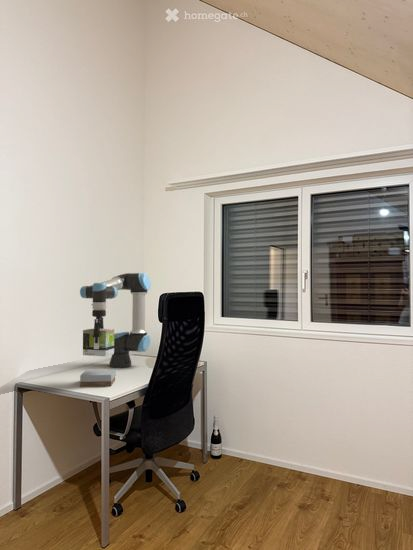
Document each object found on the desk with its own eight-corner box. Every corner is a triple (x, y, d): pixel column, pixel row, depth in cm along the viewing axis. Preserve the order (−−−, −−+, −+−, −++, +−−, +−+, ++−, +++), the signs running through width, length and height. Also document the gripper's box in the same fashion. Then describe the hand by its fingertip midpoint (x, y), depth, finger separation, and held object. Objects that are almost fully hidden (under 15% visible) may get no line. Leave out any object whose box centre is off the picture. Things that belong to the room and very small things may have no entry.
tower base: (85, 381, 234) (85, 375, 234) (114, 381, 236) (115, 375, 236) (80, 388, 220) (80, 381, 220) (111, 387, 222) (111, 381, 222)
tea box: (114, 354, 231) (114, 328, 231) (105, 357, 221) (105, 330, 222) (92, 352, 235) (92, 327, 236) (82, 355, 226) (82, 329, 226)
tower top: (86, 375, 234) (86, 369, 235) (115, 375, 235) (115, 369, 236) (80, 381, 221) (80, 375, 221) (111, 381, 221) (111, 374, 222)
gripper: (96, 308, 241) (96, 344, 240) (88, 310, 217) (87, 350, 216) (109, 308, 241) (108, 344, 241) (102, 310, 217) (101, 350, 217)
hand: (98, 347), depth 229 cm, fingers closed on tea box, 12 cm apart
